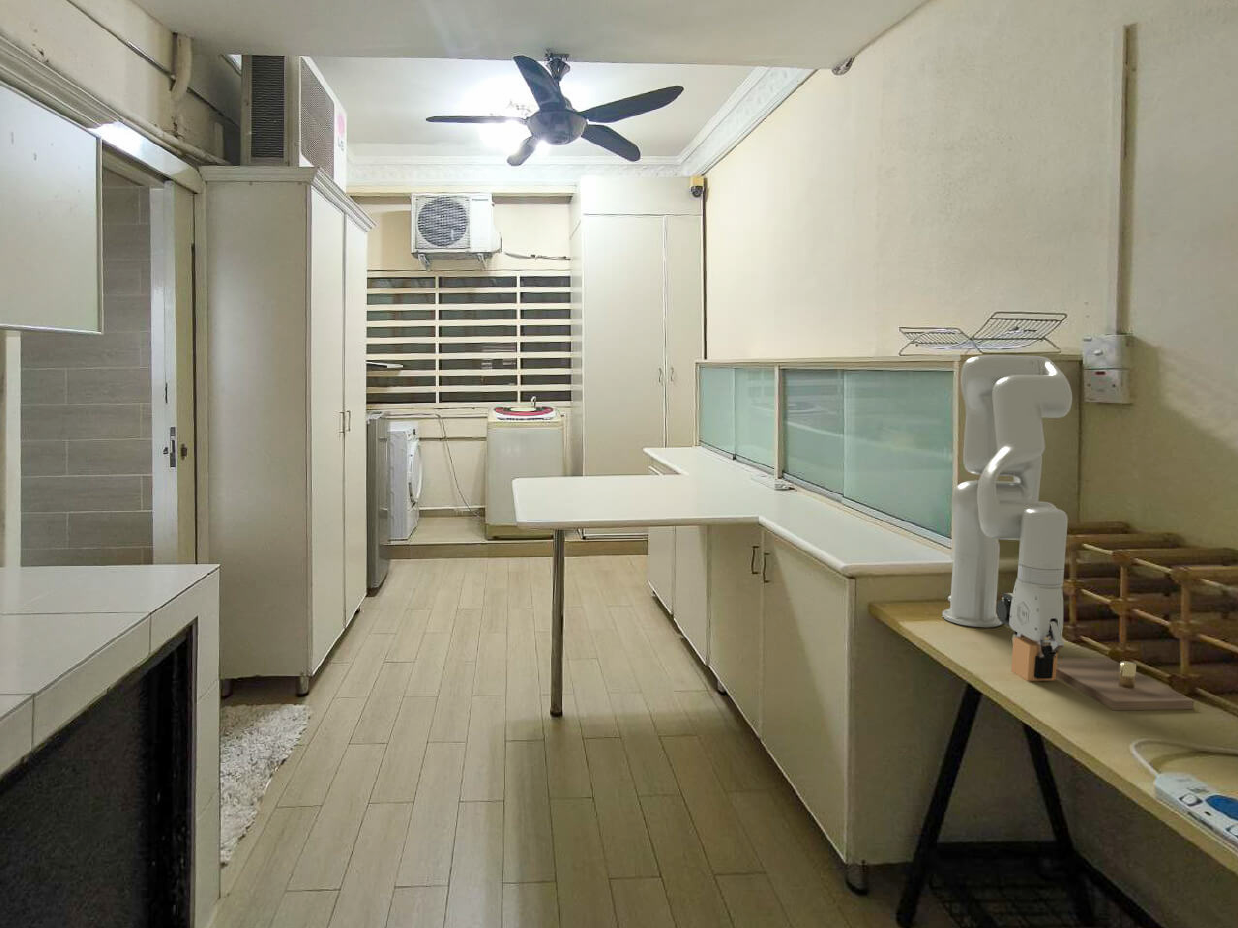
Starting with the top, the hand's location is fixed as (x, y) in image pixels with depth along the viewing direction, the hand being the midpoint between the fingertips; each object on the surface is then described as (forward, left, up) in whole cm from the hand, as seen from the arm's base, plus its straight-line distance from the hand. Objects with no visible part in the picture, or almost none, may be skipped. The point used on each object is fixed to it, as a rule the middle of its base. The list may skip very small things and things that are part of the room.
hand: (1033, 671), depth 161 cm
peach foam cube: (0, 0, -1) cm, 1 cm away
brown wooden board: (+6, +11, -1) cm, 13 cm away
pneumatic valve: (-16, +8, -1) cm, 18 cm away
